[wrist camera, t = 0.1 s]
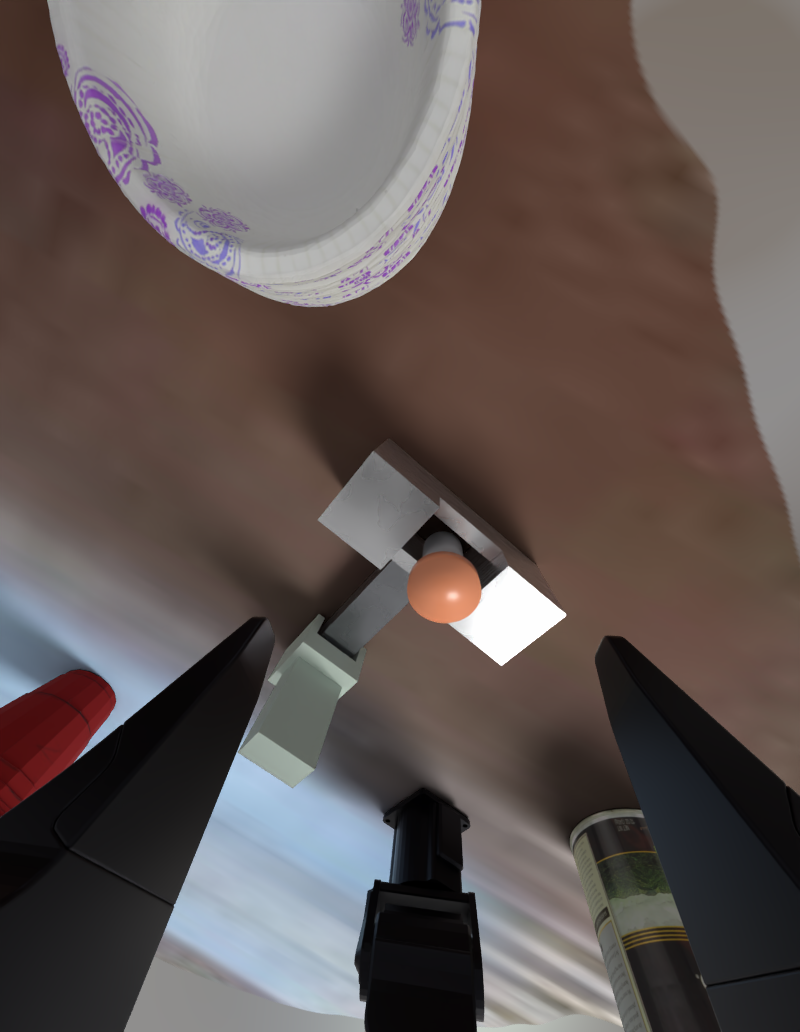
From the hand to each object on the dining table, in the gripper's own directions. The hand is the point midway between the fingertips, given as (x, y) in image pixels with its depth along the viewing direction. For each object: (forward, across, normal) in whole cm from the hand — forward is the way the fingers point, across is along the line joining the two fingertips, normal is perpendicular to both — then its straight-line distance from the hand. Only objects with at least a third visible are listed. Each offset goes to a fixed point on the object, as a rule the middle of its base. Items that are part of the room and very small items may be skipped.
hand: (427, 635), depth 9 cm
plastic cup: (+10, +34, +24) cm, 43 cm away
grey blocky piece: (+14, -1, +6) cm, 16 cm away
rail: (+12, +6, +14) cm, 20 cm away
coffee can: (+7, -19, +38) cm, 43 cm away
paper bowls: (+20, +6, -14) cm, 25 cm away
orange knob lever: (+11, -1, +6) cm, 12 cm away
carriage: (+12, +9, +17) cm, 23 cm away
